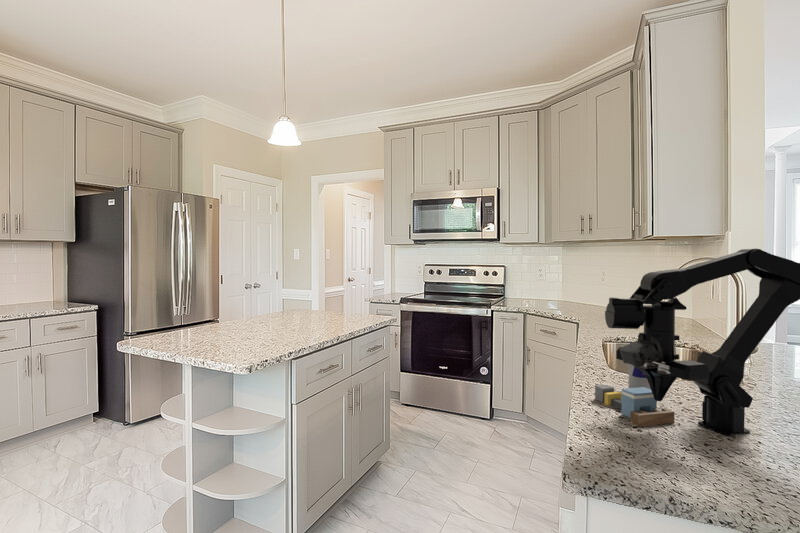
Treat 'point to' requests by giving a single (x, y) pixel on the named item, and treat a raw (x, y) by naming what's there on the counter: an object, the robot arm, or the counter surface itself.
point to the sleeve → (637, 400)
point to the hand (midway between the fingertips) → (658, 400)
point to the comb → (652, 417)
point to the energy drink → (637, 378)
